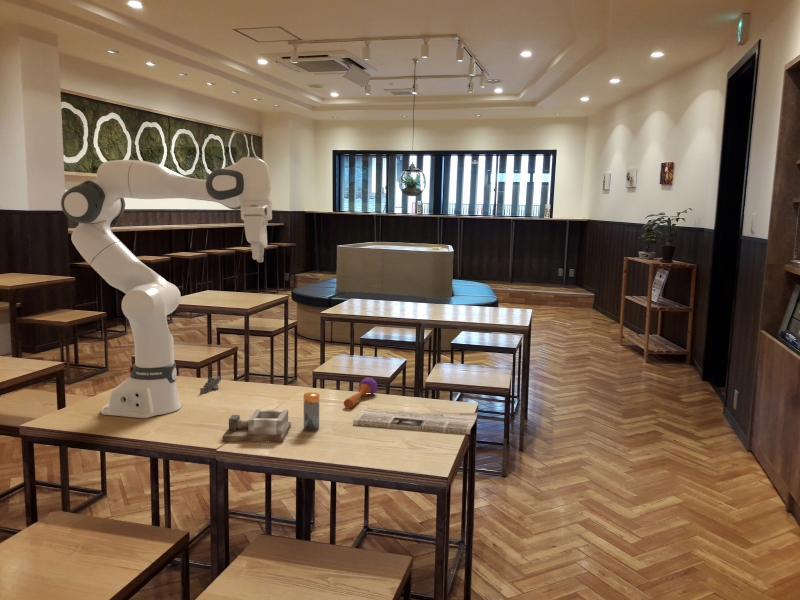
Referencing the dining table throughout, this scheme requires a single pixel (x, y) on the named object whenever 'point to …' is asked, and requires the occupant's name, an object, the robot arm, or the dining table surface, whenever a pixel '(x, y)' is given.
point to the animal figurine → (210, 384)
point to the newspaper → (417, 420)
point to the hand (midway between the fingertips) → (258, 260)
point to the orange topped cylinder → (311, 411)
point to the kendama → (362, 391)
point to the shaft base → (259, 427)
